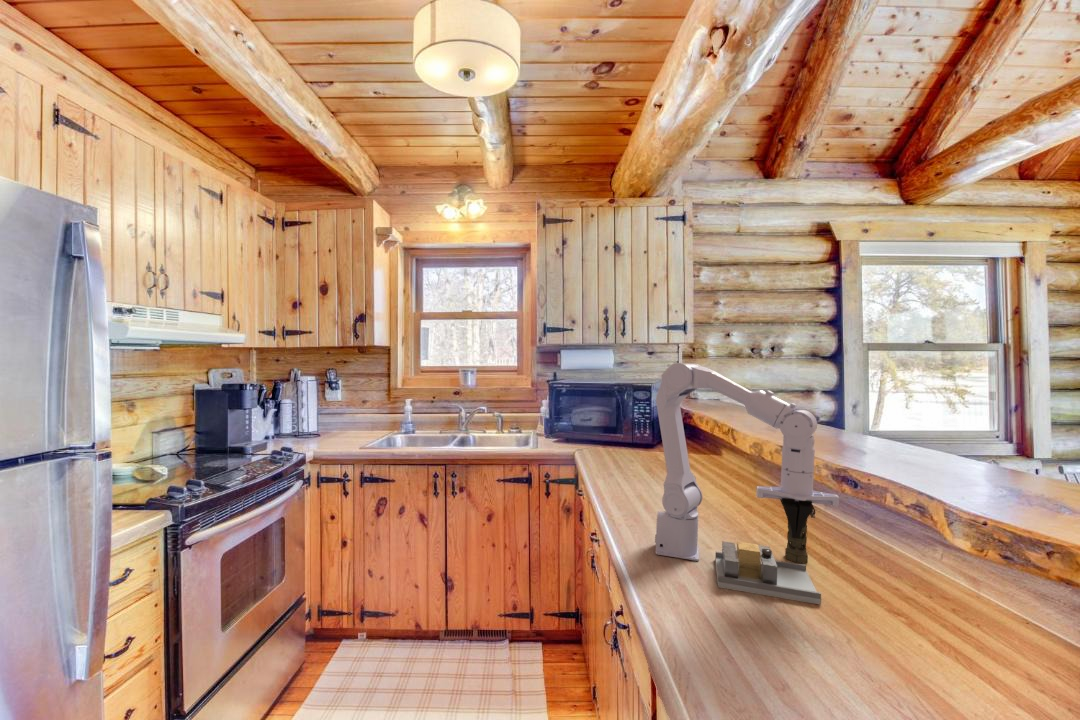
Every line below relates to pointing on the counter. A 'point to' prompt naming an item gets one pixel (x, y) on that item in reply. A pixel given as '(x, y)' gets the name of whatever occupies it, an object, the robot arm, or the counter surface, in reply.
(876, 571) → the counter surface
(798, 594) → the board
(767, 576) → the bar
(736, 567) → the fixed jaw
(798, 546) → the grenade
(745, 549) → the block
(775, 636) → the counter surface
